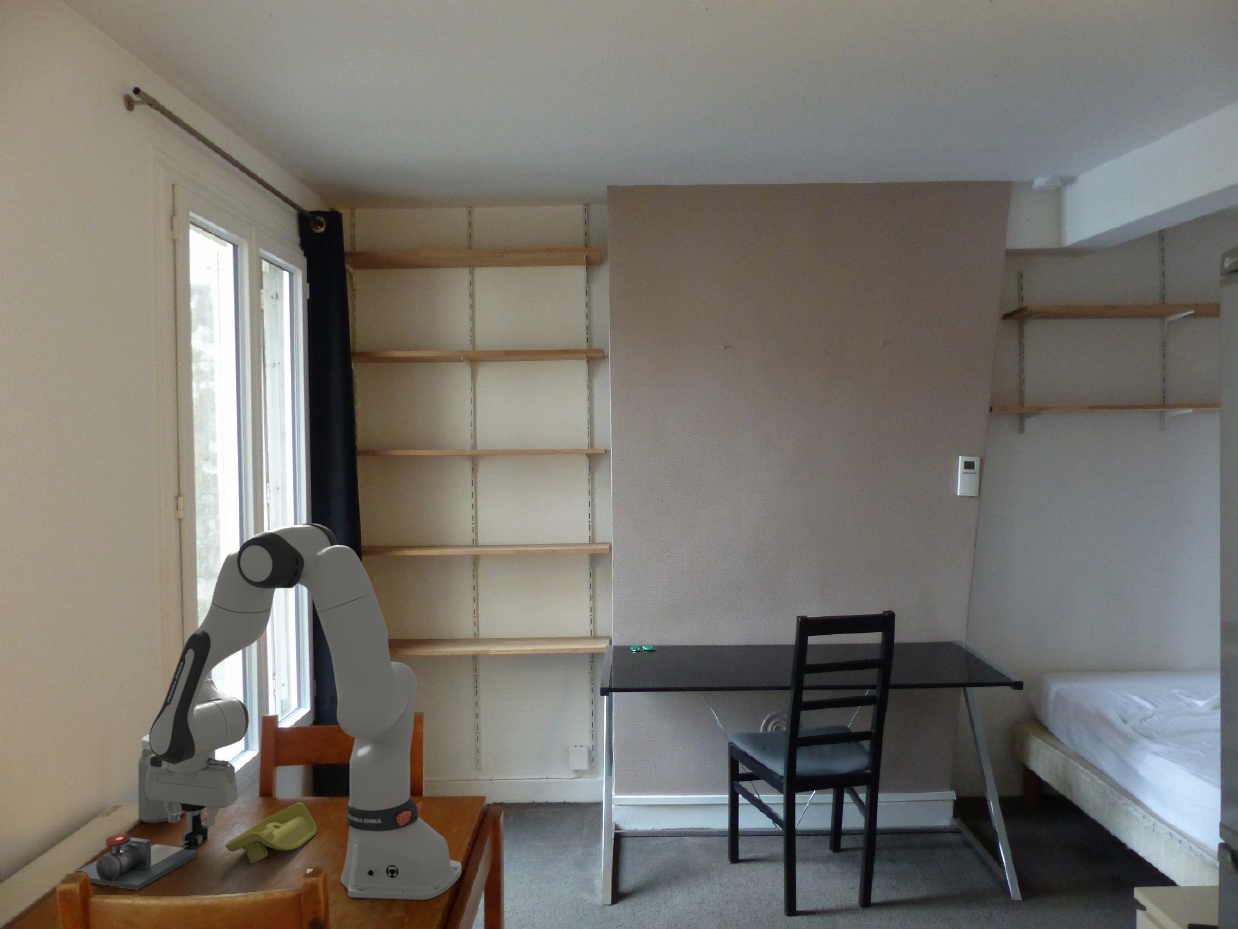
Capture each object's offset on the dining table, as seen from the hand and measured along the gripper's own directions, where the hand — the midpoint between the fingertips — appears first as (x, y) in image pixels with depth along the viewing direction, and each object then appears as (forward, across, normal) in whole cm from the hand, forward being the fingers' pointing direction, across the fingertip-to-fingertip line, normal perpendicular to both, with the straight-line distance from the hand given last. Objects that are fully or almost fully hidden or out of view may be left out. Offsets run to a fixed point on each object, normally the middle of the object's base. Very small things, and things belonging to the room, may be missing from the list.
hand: (191, 824), depth 178 cm
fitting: (+4, +2, +16) cm, 16 cm away
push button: (+4, 0, 0) cm, 5 cm away
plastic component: (+5, -17, -3) cm, 18 cm away
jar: (+5, +18, -11) cm, 22 cm away
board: (+4, +3, +11) cm, 13 cm away
